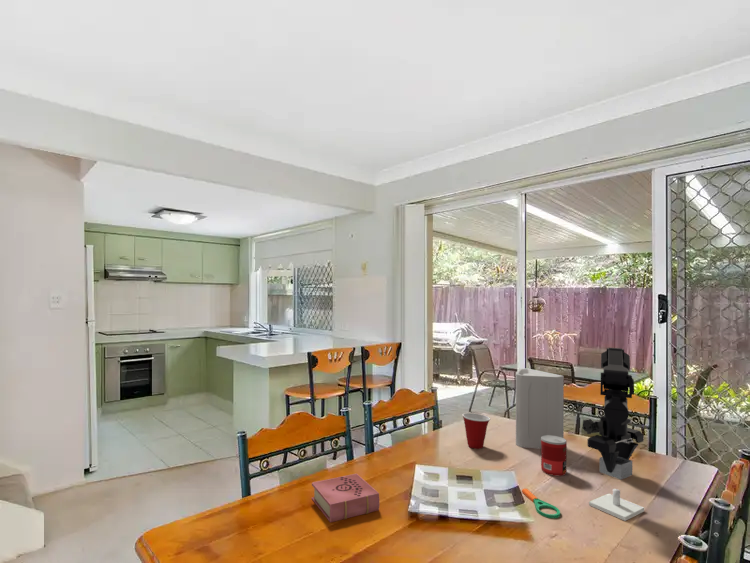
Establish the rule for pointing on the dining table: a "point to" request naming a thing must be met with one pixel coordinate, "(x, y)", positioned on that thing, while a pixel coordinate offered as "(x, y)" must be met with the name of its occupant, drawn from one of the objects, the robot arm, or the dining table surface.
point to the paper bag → (538, 406)
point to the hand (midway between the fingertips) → (615, 469)
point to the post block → (616, 506)
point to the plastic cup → (475, 429)
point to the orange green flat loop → (541, 505)
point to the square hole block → (618, 468)
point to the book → (345, 497)
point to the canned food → (553, 455)
